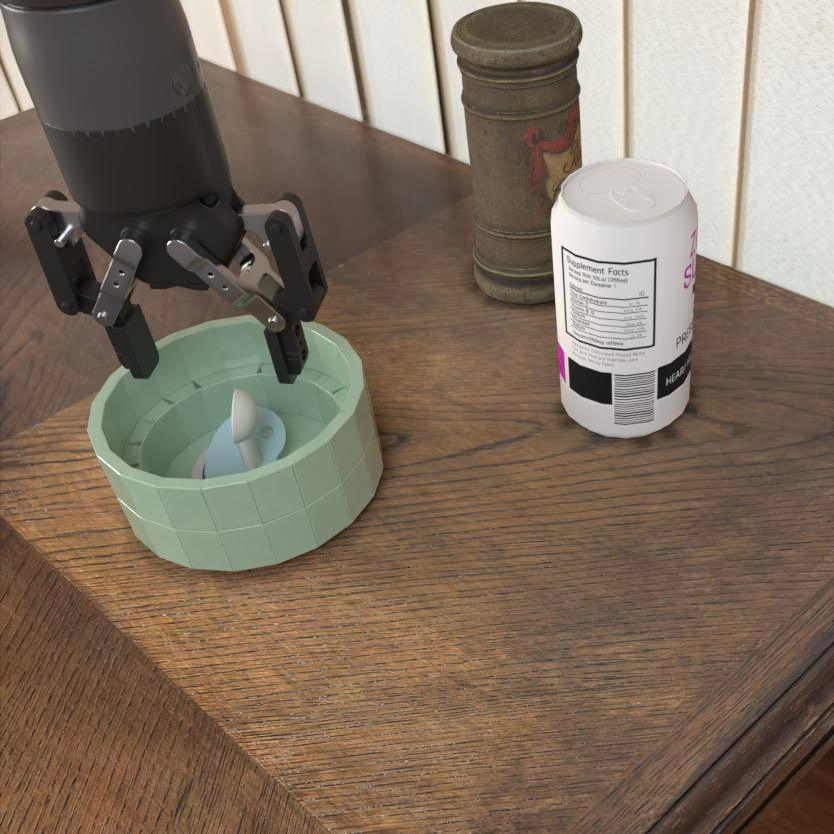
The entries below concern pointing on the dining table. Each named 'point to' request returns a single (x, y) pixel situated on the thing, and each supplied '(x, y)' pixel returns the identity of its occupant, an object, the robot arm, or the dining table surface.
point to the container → (518, 138)
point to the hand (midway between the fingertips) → (218, 372)
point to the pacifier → (242, 441)
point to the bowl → (305, 437)
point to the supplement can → (624, 294)
